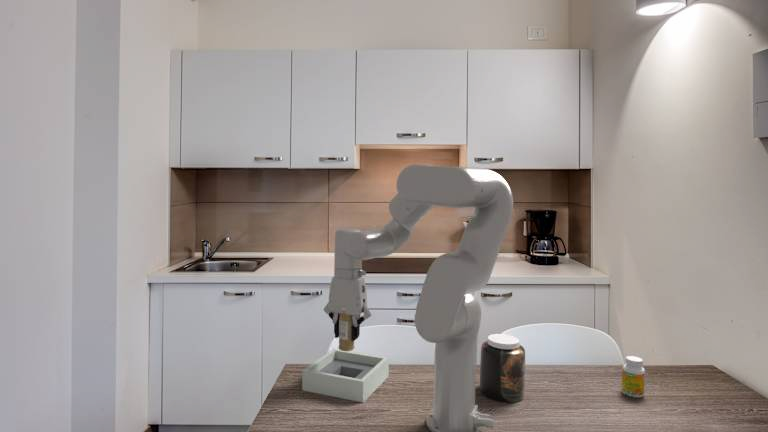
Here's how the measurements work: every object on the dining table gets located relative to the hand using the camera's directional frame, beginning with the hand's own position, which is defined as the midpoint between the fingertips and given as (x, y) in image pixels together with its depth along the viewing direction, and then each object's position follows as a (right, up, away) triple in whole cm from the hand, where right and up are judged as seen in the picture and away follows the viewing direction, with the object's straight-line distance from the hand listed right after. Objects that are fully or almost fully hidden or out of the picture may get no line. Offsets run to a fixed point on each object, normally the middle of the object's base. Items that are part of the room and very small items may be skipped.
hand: (346, 337), depth 131 cm
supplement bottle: (+78, -15, -3) cm, 79 cm away
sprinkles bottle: (0, -4, 0) cm, 4 cm away
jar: (+42, -14, -4) cm, 45 cm away
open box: (0, -13, +1) cm, 13 cm away
